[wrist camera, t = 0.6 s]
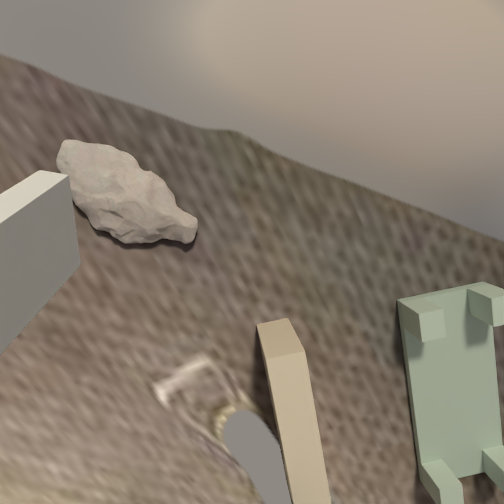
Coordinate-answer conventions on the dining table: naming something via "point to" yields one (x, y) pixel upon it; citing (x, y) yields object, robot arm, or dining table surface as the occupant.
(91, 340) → the dining table surface
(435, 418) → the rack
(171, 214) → the stone tool
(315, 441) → the clay slat
